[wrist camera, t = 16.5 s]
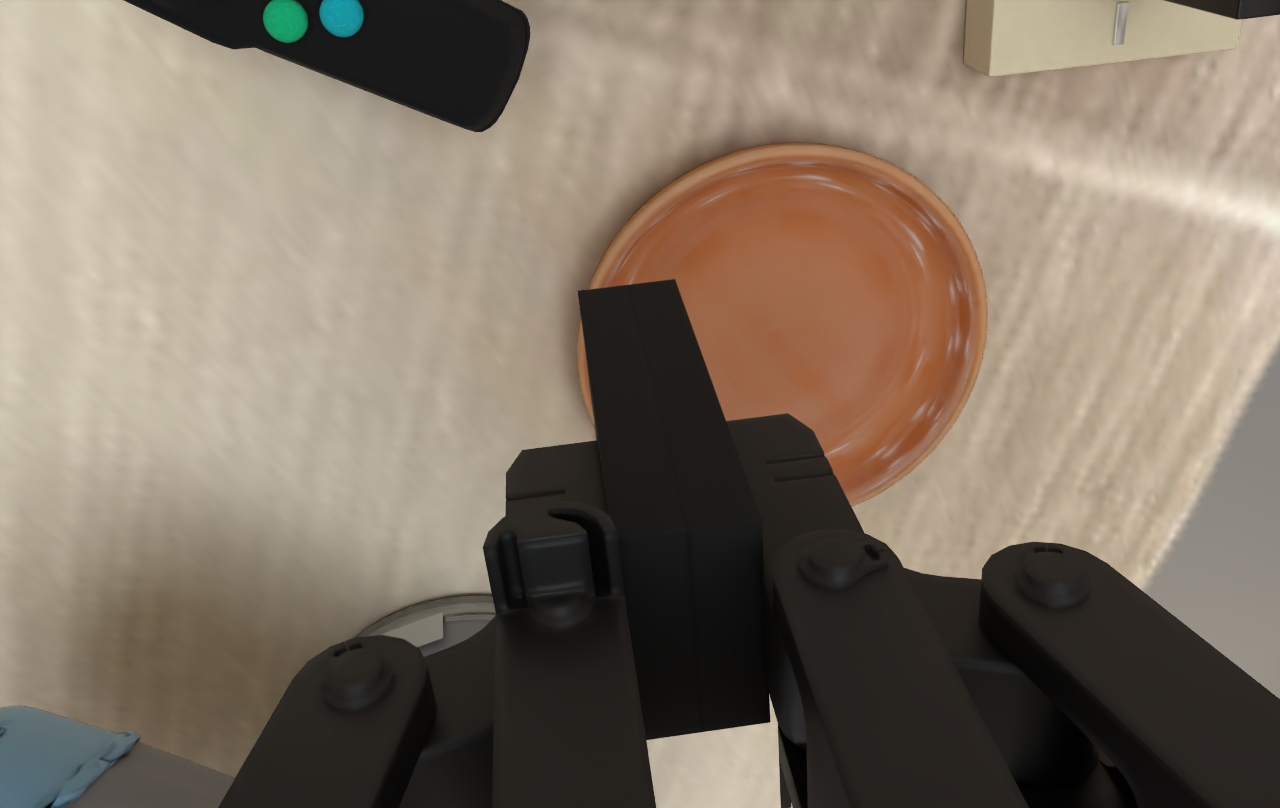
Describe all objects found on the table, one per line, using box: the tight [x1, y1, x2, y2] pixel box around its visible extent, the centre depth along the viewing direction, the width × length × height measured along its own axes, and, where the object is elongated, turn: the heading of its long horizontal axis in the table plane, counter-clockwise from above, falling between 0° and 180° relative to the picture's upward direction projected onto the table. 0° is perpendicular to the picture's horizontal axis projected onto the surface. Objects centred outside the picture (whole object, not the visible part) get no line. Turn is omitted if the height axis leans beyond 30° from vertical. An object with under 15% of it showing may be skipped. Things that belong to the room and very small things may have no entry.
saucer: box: [577, 142, 988, 507], centre depth 43 cm, size 16×16×3 cm
